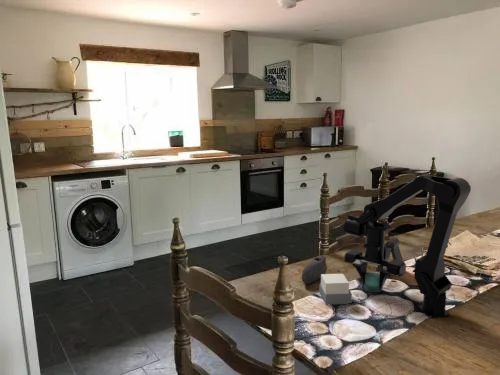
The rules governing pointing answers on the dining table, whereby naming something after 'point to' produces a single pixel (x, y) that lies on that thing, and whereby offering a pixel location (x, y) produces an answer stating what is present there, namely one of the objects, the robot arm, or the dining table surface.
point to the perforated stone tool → (314, 269)
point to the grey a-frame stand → (393, 252)
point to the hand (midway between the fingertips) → (372, 286)
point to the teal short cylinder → (372, 282)
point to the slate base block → (335, 297)
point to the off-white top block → (334, 284)
